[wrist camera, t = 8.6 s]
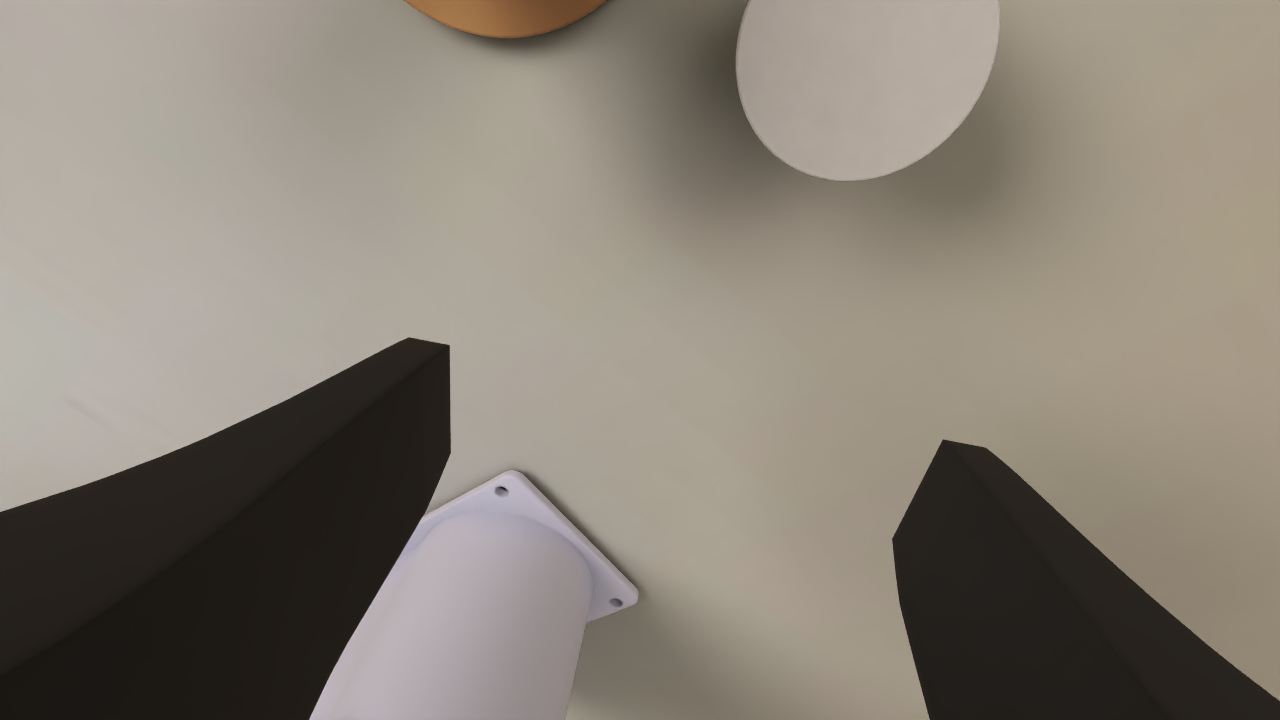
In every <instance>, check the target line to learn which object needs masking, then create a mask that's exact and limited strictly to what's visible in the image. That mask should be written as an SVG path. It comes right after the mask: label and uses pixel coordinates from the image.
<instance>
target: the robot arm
mask: <svg viewBox="0 0 1280 720" xmlns="http://www.w3.org/2000/svg"><path fill="white" fill-rule="evenodd" d="M450 453H451V433H450V345H446V344H440V343H435V342H430V341H425V340H419V339H414V338H407V339H404V340H402V341H400V342H398V343H396V344H394V345H392V346H390V347H388V348H386V349H384V350H382V351H380V352H378V353H376V354H374V355H372V356H370V357H368V358H366V359H365V360H363V361H361V362H359V363H357V364H355V365H353V366H351V367H350V368H348V369H346V370H344V371H342V372H340V373H338V374H336V375H334V376H332V377H330V378H328V379H327V380H325V381H323V382H321V383H319V384H317V385H315V386H313V387H311V388H309V389H307V390H305V391H303V392H301V393H299V394H297V395H296V396H294V397H292V398H290V399H288V400H286V401H284V402H282V403H280V404H277V405H275V406H273V407H271V408H269V409H267V410H265V411H262V412H260V413H258V414H256V415H254V416H252V417H250V418H247V419H245V420H243V421H241V422H239V423H237V424H234V425H232V426H230V427H228V428H226V429H224V430H222V431H219V432H217V433H215V434H213V435H211V436H209V437H207V438H204V439H202V440H200V441H197V442H195V443H193V444H190V445H188V446H186V447H183V448H181V449H178V450H176V451H173V452H171V453H168V454H166V455H163V456H161V457H159V458H156V459H153V460H151V461H148V462H145V463H143V464H140V465H137V466H135V467H132V468H130V469H127V470H124V471H122V472H119V473H116V474H114V475H111V476H108V477H106V478H103V479H100V480H97V481H94V482H92V483H89V484H86V485H83V486H80V487H77V488H74V489H71V490H68V491H64V492H61V493H58V494H55V495H52V496H49V497H46V498H43V499H40V500H36V501H33V502H30V503H27V504H24V505H21V506H18V507H15V508H12V509H8V510H5V511H2V512H0V720H565V718H566V713H567V708H568V704H569V699H570V695H571V690H572V686H573V681H574V677H575V672H576V667H577V663H578V658H579V654H580V649H581V645H582V640H583V636H584V631H585V626H586V623H589V622H591V621H594V620H596V619H599V618H602V617H604V616H607V615H609V614H612V613H614V612H617V611H619V610H622V609H625V608H627V607H630V606H632V605H634V604H636V603H637V601H638V595H639V592H638V590H637V588H636V587H635V586H634V585H633V584H632V583H631V582H630V581H629V580H628V579H627V578H626V577H625V576H624V575H623V574H622V573H621V572H620V571H619V570H618V569H617V568H616V567H615V566H614V565H613V564H612V563H611V562H610V561H609V560H608V559H607V558H606V557H605V556H604V555H603V554H602V553H601V552H600V551H599V550H598V549H597V548H596V547H595V546H594V545H593V544H592V543H591V542H590V541H589V540H588V539H587V538H586V537H585V536H584V535H583V534H582V533H581V532H580V531H579V530H578V529H577V528H576V527H575V526H574V525H573V524H572V523H571V522H570V521H569V520H568V519H567V518H566V517H565V516H564V515H563V514H562V513H561V512H560V511H559V510H558V509H557V508H556V507H555V506H554V505H553V504H552V503H551V502H550V501H549V500H548V499H547V498H546V497H545V496H544V495H543V494H542V493H541V492H540V491H539V490H538V489H537V488H536V487H535V486H534V485H533V484H532V483H531V482H530V481H529V480H528V479H527V478H526V477H525V476H524V475H523V474H522V473H520V472H518V471H515V470H509V471H505V472H503V473H502V474H500V475H498V476H496V477H494V478H492V479H491V480H489V481H487V482H485V483H483V484H481V485H480V486H478V487H476V488H474V489H472V490H470V491H468V492H467V493H465V494H463V495H461V496H459V497H457V498H456V499H454V500H452V501H450V502H448V503H446V504H445V505H443V506H441V507H439V508H437V509H435V510H434V511H432V512H430V513H428V514H426V515H424V513H425V512H426V510H427V507H428V505H429V503H430V501H431V498H432V496H433V494H434V492H435V489H436V487H437V485H438V482H439V480H440V478H441V475H442V473H443V470H444V468H445V465H446V463H447V461H448V458H449V456H450ZM500 487H504V488H506V489H507V490H504V489H502V488H500ZM423 515H424V516H423ZM892 541H893V551H894V561H895V571H896V579H897V587H898V594H899V601H900V607H901V611H902V615H903V619H904V623H905V627H906V631H907V635H908V639H909V643H910V646H911V650H912V654H913V658H914V662H915V666H916V669H917V673H918V677H919V681H920V684H921V688H922V692H923V696H924V699H925V703H926V707H927V711H928V714H929V718H930V720H1280V701H1279V700H1277V699H1276V698H1275V697H1273V696H1272V695H1271V694H1269V693H1268V692H1267V691H1266V690H1264V689H1263V688H1262V687H1260V686H1259V685H1258V684H1256V683H1255V682H1254V681H1252V680H1251V679H1250V678H1249V677H1247V676H1246V675H1245V674H1243V673H1242V672H1241V671H1239V670H1238V669H1237V668H1236V667H1234V666H1233V665H1232V664H1231V663H1229V662H1228V661H1227V660H1226V659H1224V658H1223V657H1222V656H1221V655H1219V654H1218V653H1217V652H1216V651H1215V650H1213V649H1212V648H1211V647H1210V646H1208V645H1207V644H1206V643H1205V642H1203V641H1202V640H1201V639H1200V638H1199V637H1198V636H1196V635H1195V634H1194V633H1193V632H1192V631H1191V630H1189V629H1188V628H1187V627H1186V626H1185V625H1183V624H1182V623H1181V622H1180V621H1179V620H1178V619H1176V618H1175V617H1174V616H1173V615H1172V614H1171V613H1169V612H1168V611H1167V610H1166V609H1165V608H1163V607H1162V606H1161V605H1160V604H1159V603H1158V602H1156V601H1155V600H1154V599H1153V598H1152V597H1151V596H1149V595H1148V594H1147V593H1146V592H1145V591H1144V590H1143V589H1142V588H1140V587H1139V586H1138V585H1137V584H1136V583H1135V582H1134V581H1133V580H1131V579H1130V578H1129V577H1128V576H1127V575H1126V574H1125V573H1124V572H1122V571H1121V570H1120V569H1119V568H1118V567H1117V566H1116V565H1115V564H1114V563H1113V562H1111V561H1110V560H1109V559H1108V558H1107V557H1106V556H1105V555H1104V554H1103V553H1102V552H1100V551H1099V550H1098V549H1097V548H1096V547H1095V546H1094V545H1093V544H1092V543H1091V542H1090V541H1089V540H1087V539H1086V538H1085V537H1084V536H1083V535H1082V534H1081V533H1080V532H1079V531H1078V530H1077V529H1076V528H1075V527H1073V526H1072V525H1071V524H1070V523H1069V522H1068V521H1067V520H1066V519H1065V518H1064V517H1063V516H1062V515H1061V514H1060V513H1059V512H1057V511H1056V510H1055V509H1054V508H1053V507H1052V506H1051V505H1050V504H1049V503H1048V502H1047V501H1046V500H1045V499H1044V498H1043V497H1041V496H1040V495H1039V494H1038V493H1037V492H1036V491H1035V490H1034V489H1033V488H1032V487H1031V486H1030V485H1028V484H1027V483H1026V482H1025V481H1024V480H1023V479H1022V478H1021V477H1020V476H1019V475H1018V474H1016V473H1015V472H1014V471H1013V470H1012V469H1011V468H1010V467H1009V466H1007V465H1006V464H1005V463H1004V462H1003V461H1002V460H1000V459H999V458H998V457H997V456H996V455H994V454H993V453H992V452H991V451H989V450H988V449H987V448H984V447H979V446H974V445H969V444H964V443H958V442H953V441H948V440H942V442H941V444H940V446H939V448H938V450H937V452H936V454H935V456H934V458H933V460H932V462H931V464H930V466H929V468H928V470H927V472H926V474H925V476H924V478H923V480H922V482H921V484H920V486H919V487H918V489H917V491H916V493H915V495H914V497H913V499H912V501H911V503H910V505H909V507H908V509H907V511H906V513H905V515H904V517H903V519H902V521H901V523H900V525H899V527H898V529H897V531H896V533H895V534H894V536H893V538H892Z"/></svg>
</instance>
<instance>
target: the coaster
mask: <svg viewBox="0 0 1280 720" xmlns="http://www.w3.org/2000/svg"><path fill="white" fill-rule="evenodd" d="M404 1H406V2H407V3H409V4H410V5H411V6H413V7H414V8H415V9H417V10H418V11H420V12H422V13H423V14H425V15H427V16H429V17H431V18H432V19H434V20H436V21H438V22H440V23H442V24H445V25H447V26H450V27H452V28H455V29H457V30H460V31H463V32H467V33H471V34H475V35H479V36H485V37H495V38H523V37H529V36H534V35H540V34H545V33H548V32H551V31H553V30H556V29H559V28H562V27H564V26H567V25H569V24H571V23H573V22H575V21H577V20H579V19H581V18H582V17H584V16H586V15H588V14H590V13H591V12H592V11H594V10H595V9H596V8H598V7H599V6H600V5H602V4H603V3H604V2H606V1H607V0H404Z"/></svg>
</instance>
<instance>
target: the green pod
mask: <svg viewBox="0 0 1280 720" xmlns="http://www.w3.org/2000/svg"><path fill="white" fill-rule="evenodd" d="M999 32H1000V5H999V0H748V3H747V5H746V9H745V12H744V14H743V18H742V21H741V25H740V29H739V33H738V40H737V47H736V78H737V87H738V92H739V96H740V100H741V104H742V107H743V109H744V112H745V115H746V117H747V119H748V121H749V123H750V125H751V127H752V129H753V131H754V132H755V133H756V135H757V136H758V138H759V139H760V140H761V142H762V143H763V144H764V145H765V146H766V147H767V148H768V149H769V150H770V151H771V153H772V154H774V155H775V156H776V157H777V158H779V159H780V160H781V161H783V162H784V163H785V164H787V165H789V166H790V167H792V168H794V169H796V170H797V171H800V172H802V173H805V174H807V175H810V176H813V177H817V178H821V179H825V180H832V181H862V180H869V179H874V178H878V177H882V176H886V175H889V174H891V173H894V172H897V171H899V170H902V169H904V168H906V167H908V166H910V165H912V164H914V163H915V162H917V161H919V160H921V159H922V158H923V157H925V156H926V155H928V154H929V153H931V152H932V151H934V150H935V149H936V148H937V147H938V146H940V145H941V144H942V143H943V142H944V141H946V140H947V139H948V138H949V137H950V136H951V135H952V133H953V132H954V131H955V130H956V129H957V128H958V127H959V126H960V125H961V124H962V122H963V121H964V120H965V118H966V117H967V116H968V114H969V113H970V112H971V110H972V109H973V107H974V105H975V104H976V102H977V101H978V99H979V97H980V96H981V94H982V91H983V89H984V87H985V85H986V83H987V81H988V79H989V76H990V73H991V70H992V67H993V64H994V61H995V57H996V52H997V47H998V43H999Z"/></svg>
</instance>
